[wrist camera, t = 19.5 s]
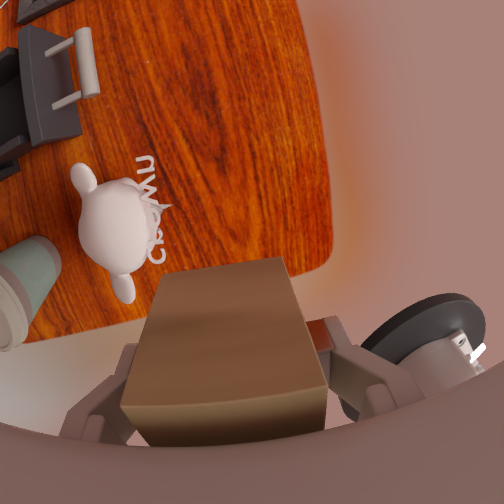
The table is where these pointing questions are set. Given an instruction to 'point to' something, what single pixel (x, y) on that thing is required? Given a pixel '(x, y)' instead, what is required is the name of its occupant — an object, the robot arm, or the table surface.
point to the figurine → (118, 224)
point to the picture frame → (36, 9)
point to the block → (225, 360)
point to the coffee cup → (25, 286)
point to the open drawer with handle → (42, 90)
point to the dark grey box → (9, 169)
